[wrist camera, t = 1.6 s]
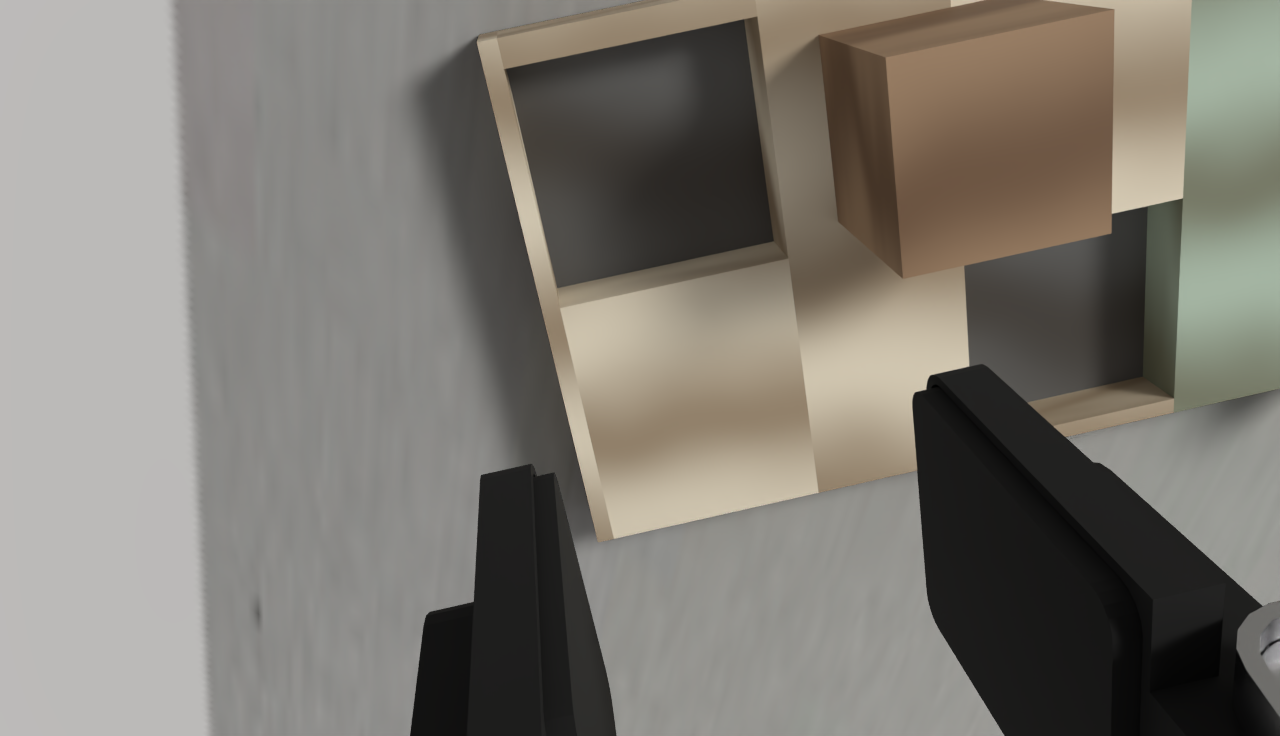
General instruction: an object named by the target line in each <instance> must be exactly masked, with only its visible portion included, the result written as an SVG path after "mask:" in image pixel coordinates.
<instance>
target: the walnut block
mask: <svg viewBox="0 0 1280 736" xmlns="http://www.w3.org/2000/svg"><path fill="white" fill-rule="evenodd" d="M1114 14H1115V9H1109V8H1101V7H1093V6H1085V5H1078V4H1070V3H1062V2H1054V1H1047V0H983V1H978V2H974V3H969V4H964V5H959V6H954V7H950V8H945V9H940V10H935V11H931V12H926V13H921V14H916V15H911V16H907V17H902V18H897V19H892V20H888V21H883V22H878V23H873V24H869V25H864V26H859V27H854V28H849V29H845V30H840V31H835V32H830V33H826V34H821V35H819V44H820V54H821V63H822V73H823V83H824V92H825V102H826V111H827V121H828V130H829V140H830V149H831V159H832V168H833V178H834V187H835V197H836V207H837V216H838V222H839V223H840V224H841V225H842V226H844V227H845V228H846V229H847V230H848V231H849V232H850V233H851V234H853V235H854V236H855V237H856V238H857V239H858V240H859V241H861V242H862V243H863V244H864V245H865V246H866V247H867V248H868V249H870V250H871V251H872V252H873V253H874V254H875V255H876V256H877V257H879V258H880V259H881V260H882V261H883V262H884V263H885V264H887V265H888V266H889V267H890V268H891V269H892V270H893V271H894V272H896V273H897V274H898V275H899V276H900V277H901V278H902V279H906V278H910V277H915V276H919V275H924V274H928V273H933V272H938V271H942V270H947V269H951V268H956V267H960V266H965V265H970V264H974V263H979V262H983V261H988V260H993V259H997V258H1002V257H1006V256H1011V255H1015V254H1020V253H1025V252H1029V251H1034V250H1038V249H1043V248H1047V247H1052V246H1057V245H1061V244H1066V243H1070V242H1075V241H1079V240H1084V239H1089V238H1093V237H1098V236H1102V235H1107V234H1111V230H1112V158H1113V86H1114Z"/></svg>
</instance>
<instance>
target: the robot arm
mask: <svg viewBox="0 0 1280 736" xmlns="http://www.w3.org/2000/svg"><path fill="white" fill-rule="evenodd" d="M912 410H913V423H914V435H915V448H916V461H917V473H918V486H919V499H920V511H921V524H922V537H923V549H924V562H925V575H926V587H927V596H928V601H929V606H930V609H931V612H932V615H933V618H934V620H935V623H936V624H937V626H938V628H939V630H940V632H941V633H942V635H943V636H944V638H945V640H946V641H947V643H948V645H949V646H950V648H951V649H952V651H953V653H954V654H955V656H956V658H957V659H958V661H959V662H960V664H961V666H962V667H963V669H964V671H965V672H966V674H967V675H968V677H969V679H970V680H971V682H972V683H973V685H974V687H975V688H976V690H977V692H978V693H979V695H980V696H981V698H982V700H983V701H984V703H985V705H986V706H987V708H988V709H989V711H990V713H991V714H992V716H993V718H994V719H995V721H996V722H997V724H998V726H999V727H1000V729H1001V731H1002V732H1003V734H1004V735H1005V736H1280V601H1277V602H1272V603H1268V604H1267V605H1265V606H1262V605H1261V604H1260V603H1258V602H1257V601H1256V600H1255V599H1254V598H1253V597H1252V596H1251V595H1249V594H1248V593H1247V592H1246V591H1245V590H1244V589H1243V588H1242V587H1241V586H1239V585H1238V584H1237V583H1236V582H1235V581H1234V580H1233V579H1232V578H1230V577H1229V576H1228V575H1227V574H1226V573H1225V572H1224V571H1223V570H1222V569H1220V568H1219V567H1218V566H1217V565H1216V564H1215V563H1214V562H1213V561H1212V560H1210V559H1209V558H1208V557H1207V556H1206V555H1205V554H1204V553H1203V552H1201V551H1200V550H1199V549H1198V548H1197V547H1196V546H1195V545H1194V544H1193V543H1191V542H1190V541H1189V540H1188V539H1187V538H1186V537H1185V536H1184V535H1182V534H1181V533H1180V532H1179V531H1178V530H1177V529H1176V528H1175V527H1174V526H1172V525H1171V524H1170V523H1169V522H1168V521H1167V520H1166V519H1165V518H1164V517H1162V516H1161V515H1160V514H1159V513H1158V512H1157V511H1156V510H1155V509H1153V508H1152V507H1151V506H1150V505H1149V504H1148V503H1147V502H1146V501H1145V500H1143V499H1142V498H1141V497H1140V496H1139V495H1138V494H1137V493H1136V492H1134V491H1133V490H1132V489H1131V488H1130V487H1129V486H1128V485H1127V484H1126V483H1124V482H1123V481H1122V480H1121V479H1120V478H1119V477H1118V476H1117V475H1116V474H1114V473H1113V472H1112V471H1111V470H1110V469H1108V468H1107V467H1105V466H1104V465H1102V464H1100V463H1093V462H1092V461H1091V460H1090V459H1089V458H1088V457H1086V456H1085V455H1084V454H1083V453H1082V452H1081V451H1080V450H1079V449H1078V448H1077V447H1076V446H1074V445H1073V444H1072V443H1071V442H1070V441H1069V440H1068V439H1067V438H1066V437H1065V436H1063V435H1062V434H1061V433H1060V432H1059V431H1058V430H1057V429H1056V428H1055V427H1054V426H1052V425H1051V424H1050V423H1049V422H1048V421H1047V420H1046V419H1045V418H1044V417H1043V416H1041V415H1040V414H1039V413H1038V412H1037V411H1036V410H1035V409H1034V408H1033V407H1032V406H1030V405H1029V404H1028V403H1027V402H1026V401H1025V400H1024V399H1023V398H1022V397H1021V396H1019V395H1018V394H1017V393H1016V392H1015V391H1014V390H1013V389H1012V388H1011V387H1010V386H1008V385H1007V384H1006V383H1005V382H1004V381H1003V380H1002V379H1001V378H1000V377H999V376H997V375H996V374H995V373H994V372H993V371H992V370H991V369H990V368H989V367H987V366H986V365H984V364H978V365H974V366H969V367H965V368H960V369H956V370H951V371H947V372H942V373H938V374H933V375H930V377H929V378H928V381H927V386H926V390H922V391H918V392H915V393H914V395H913V399H912ZM410 736H616V729H615V721H614V714H613V706H612V699H611V693H610V688H609V683H608V678H607V673H606V669H605V665H604V661H603V657H602V653H601V649H600V645H599V641H598V638H597V634H596V630H595V626H594V622H593V618H592V614H591V610H590V606H589V602H588V598H587V594H586V591H585V587H584V583H583V579H582V575H581V571H580V567H579V563H578V559H577V555H576V551H575V547H574V543H573V540H572V536H571V532H570V528H569V524H568V520H567V516H566V512H565V508H564V504H563V500H562V496H561V493H560V489H559V485H558V481H557V478H556V475H555V473H550V474H545V475H541V476H537V475H536V472H535V469H534V466H533V465H532V464H529V465H524V466H520V467H515V468H511V469H506V470H502V471H497V472H493V473H488V474H484V475H481V479H480V495H479V514H478V533H477V552H476V571H475V590H474V602H472V603H467V604H463V605H458V606H454V607H450V608H445V609H441V610H436V611H432V612H429V613H428V614H427V615H426V618H425V622H424V627H423V635H422V644H421V652H420V660H419V668H418V676H417V684H416V692H415V701H414V709H413V717H412V725H411V733H410Z"/></svg>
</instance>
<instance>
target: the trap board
mask: <svg viewBox="0 0 1280 736" xmlns="http://www.w3.org/2000/svg"><path fill="white" fill-rule="evenodd" d="M978 1H983V0H644V1H639V2H635V3H630V4H625V5H620V6H615V7H610V8H606V9H601V10H596V11H591V12H586V13H582V14H577V15H572V16H567V17H562V18H557V19H553V20H548V21H543V22H538V23H533V24H528V25H524V26H519V27H514V28H509V29H504V30H499V31H495V32H490V33H485V34H480V35H479V37H478V40H477V45H478V49H479V54H480V58H481V62H482V66H483V70H484V74H485V78H486V82H487V86H488V91H489V95H490V99H491V103H492V107H493V111H494V115H495V119H496V124H497V128H498V132H499V136H500V140H501V144H502V148H503V152H504V157H505V161H506V165H507V169H508V173H509V177H510V181H511V185H512V190H513V194H514V198H515V202H516V206H517V210H518V214H519V218H520V223H521V227H522V231H523V235H524V239H525V243H526V247H527V251H528V255H529V260H530V264H531V268H532V272H533V276H534V280H535V284H536V288H537V293H538V297H539V301H540V305H541V309H542V313H543V317H544V321H545V326H546V330H547V334H548V338H549V342H550V346H551V350H552V354H553V359H554V363H555V367H556V371H557V375H558V379H559V383H560V387H561V392H562V396H563V400H564V404H565V408H566V412H567V416H568V420H569V425H570V429H571V433H572V437H573V441H574V445H575V449H576V453H577V457H578V462H579V466H580V470H581V474H582V478H583V482H584V486H585V490H586V495H587V499H588V503H589V507H590V511H591V515H592V519H593V523H594V528H595V532H596V536H597V540H598V542H602V541H607V540H611V539H616V538H620V537H624V536H629V535H633V534H638V533H642V532H647V531H651V530H655V529H660V528H664V527H669V526H673V525H678V524H682V523H686V522H691V521H695V520H700V519H704V518H709V517H713V516H718V515H722V514H726V513H731V512H735V511H740V510H744V509H749V508H753V507H757V506H762V505H766V504H771V503H775V502H780V501H784V500H788V499H793V498H797V497H802V496H806V495H811V494H815V493H819V492H824V491H828V490H833V489H837V488H842V487H846V486H851V485H855V484H859V483H864V482H868V481H873V480H877V479H882V478H886V477H890V476H895V475H899V474H904V473H908V472H913V471H917V461H916V448H915V435H914V423H913V410H912V399H913V395H914V393H915V392H918V391H922V390H926V386H927V381H928V378H929V377H930V375H933V374H938V373H942V372H947V371H951V370H956V369H960V368H965V367H969V366H974V365H978V364H984V365H986V366H987V367H989V368H990V369H991V370H992V371H993V372H994V373H995V374H996V375H997V376H999V377H1000V378H1001V379H1002V380H1003V381H1004V382H1005V383H1006V384H1007V385H1008V386H1010V387H1011V388H1012V389H1013V390H1014V391H1015V392H1016V393H1017V394H1018V395H1019V396H1021V397H1022V398H1023V399H1024V400H1025V401H1026V402H1027V403H1028V404H1029V405H1030V406H1032V407H1033V408H1034V409H1035V410H1036V411H1037V412H1038V413H1039V414H1040V415H1041V416H1043V417H1044V418H1045V419H1046V420H1047V421H1048V422H1049V423H1050V424H1051V425H1052V426H1054V427H1055V428H1056V429H1057V430H1058V431H1059V432H1060V433H1061V434H1062V435H1063V436H1065V437H1068V436H1072V435H1077V434H1081V433H1086V432H1090V431H1094V430H1099V429H1103V428H1108V427H1112V426H1117V425H1121V424H1125V423H1130V422H1134V421H1139V420H1143V419H1148V418H1152V417H1156V416H1161V415H1165V414H1170V413H1174V412H1179V411H1183V410H1187V409H1192V408H1196V407H1201V406H1205V405H1210V404H1214V403H1219V402H1223V401H1227V400H1232V399H1236V398H1241V397H1245V396H1250V395H1254V394H1258V393H1263V392H1267V391H1272V390H1276V389H1280V0H1047V1H1054V2H1062V3H1070V4H1078V5H1085V6H1093V7H1101V8H1109V9H1115V14H1114V86H1113V158H1112V230H1111V234H1107V235H1102V236H1098V237H1093V238H1089V239H1084V240H1079V241H1075V242H1070V243H1066V244H1061V245H1057V246H1052V247H1047V248H1043V249H1038V250H1034V251H1029V252H1025V253H1020V254H1015V255H1011V256H1006V257H1002V258H997V259H993V260H988V261H983V262H979V263H974V264H970V265H965V266H960V267H956V268H951V269H947V270H942V271H938V272H933V273H928V274H924V275H919V276H915V277H910V278H906V279H902V278H901V277H900V276H899V275H898V274H897V273H896V272H894V271H893V270H892V269H891V268H890V267H889V266H888V265H887V264H885V263H884V262H883V261H882V260H881V259H880V258H879V257H877V256H876V255H875V254H874V253H873V252H872V251H871V250H870V249H868V248H867V247H866V246H865V245H864V244H863V243H862V242H861V241H859V240H858V239H857V238H856V237H855V236H854V235H853V234H851V233H850V232H849V231H848V230H847V229H846V228H845V227H844V226H842V225H841V224H840V223H839V222H838V216H837V207H836V197H835V187H834V178H833V168H832V159H831V149H830V140H829V130H828V121H827V111H826V102H825V92H824V83H823V73H822V63H821V54H820V44H819V35H821V34H826V33H830V32H835V31H840V30H845V29H849V28H854V27H859V26H864V25H869V24H873V23H878V22H883V21H888V20H892V19H897V18H902V17H907V16H911V15H916V14H921V13H926V12H931V11H935V10H940V9H945V8H950V7H954V6H959V5H964V4H969V3H974V2H978Z"/></svg>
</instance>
